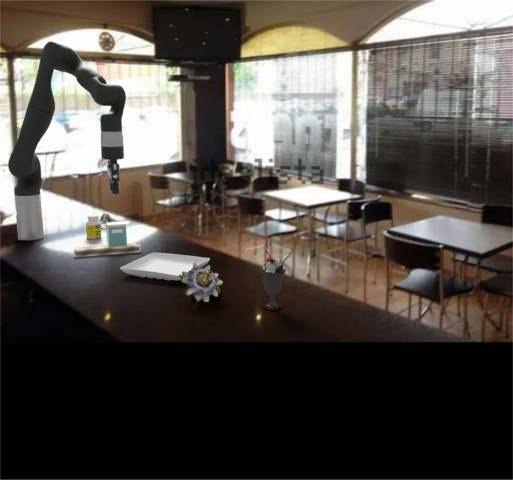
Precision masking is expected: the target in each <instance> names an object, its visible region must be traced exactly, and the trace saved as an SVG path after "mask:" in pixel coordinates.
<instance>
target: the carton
mask: <svg viewBox="0 0 513 480" xmlns="http://www.w3.org/2000/svg"><path fill="white" fill-rule="evenodd" d="M106 237H107V238H106V239H107V245H108V247H116V246H127V244H128V236H127V227H126V223H125V222H109V223H107V229H106Z"/></svg>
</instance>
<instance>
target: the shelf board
mask: <svg viewBox="0 0 513 480" xmlns="http://www.w3.org/2000/svg"><path fill="white" fill-rule="evenodd" d="M141 251H142V250H141V244H137V243H136V242H133V243H132V242H131V243H127V246H116V247H108V244H105V245H103V244H102V245H91V246H90V245H89V246H77V247H73V256H74V258H83V257H85V258H86V257H97V256H98V257H99V256H108V255H121V254H134V253H135V254H138V253H142V252H141Z"/></svg>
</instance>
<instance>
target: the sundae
mask: <svg viewBox="0 0 513 480" xmlns="http://www.w3.org/2000/svg"><path fill="white" fill-rule="evenodd" d="M264 252H265V253H267V255H268V258H266V260H265V263H264V264H263V266H262V268H259V273H261V275H262V278H263V286H264V289H265V292H266V293H267V294H268V295H269V296H270V297H269V298H270V301H269V303H267V304H268V305H266V304H265V305H266V306H267V307H269V308H270V307H271V308H273V307H278V305H277V304H278V303H276V295H277V294H279V293H280V292H281V289H282V284H283V277H284V275H285V273H286V271H287V270H286V268H284V264H283V263H282V264H281V263H280V262H279V261H278V260H277V259H274V258H273V257H271V255H270V252H268V250H264ZM280 264H281V265H280Z"/></svg>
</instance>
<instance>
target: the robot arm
mask: <svg viewBox="0 0 513 480" xmlns="http://www.w3.org/2000/svg"><path fill="white" fill-rule="evenodd" d="M41 51H42V52H41V53H40V54H41V55H40V59H39V64H38V68H37V73H36V79H35V81H34V84H33V89H32V92H31V96H30V98H29V101H28V104H27V107H26V110H25V113H24V117H23V121H22V124H21V128H20V131H19V134H18V137H17V141H16V142H15V145H14V146H13V150H12V152H11V154H10V156H9V158H8V162H7V163H8V164H7V166H8V171H9V173H10V174H11V175H12V176H13V177H15V178H17V182H16V185H15V186H14V189H13V192H14V201H15V213H16V216H15V219H16V230H17V239H18V241H35V240H36V241H37V240H41V239H44V237H45V231H44V220H43V219H44V218H43V209H42V197H41V187H42V167H41V160H40V159H39V157H38V156H37V154H36V150H37V147H38V145H39V143H40V141H41V140H42V138H43V137H44V135H45V134H46V133H47V131H48V129H49V128H50V126H51V123H52V121H53V117H54V114H55V112H56V111H55V110H56V101H55V97H54V93H53V89H52V88H53V87H52V79H53V75H54V71H58V72H60V73H66V74H69V75H72V76H74V77H75V79H76V81H77V83H78V84H79V86H81V88H83V89H84V90H85V91H87V92H88V93H89V94H90V96H91V98H92V99H93V102H94V103H96V104H97V105H99V106H102V107H110V109H109V111H108V112H106V113H102V114H101V115H100V119H99V120H100V152H101V153H100V155H101V159H103V160H107V164H106V169H107V175H108V179H109V190H110V191H111V193H112V194H113V195H118V194H120V188H119V187H120V186H119V183H120V176H121V175H120V174H121V173H120V168H121V167H120V164H119V163H118V160H123V159H124V158H125V150H124V149H125V148H124V135H123V122H122V121H123V120H122V119H123V115H124V109H125V106H126V101H127V95H126V91H125V89H124V87H123V86H122V85H120V84H109V83H108V84H107V80H106V78H105V77H103V76H102V75H101V74H100V73H98V72H96V70H94V69H92V68H91V67H90V66H88V64H86V63H85V62H84V60H83V59H82V58H81V57H80V56H79V55H78V53H77V52H76V51H75V50H74V49H73V48H71V47H69V46H67V45H64V44H61V43H59V42H56V41H47V43H45V45H44V46H43V48H42V50H41Z"/></svg>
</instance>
